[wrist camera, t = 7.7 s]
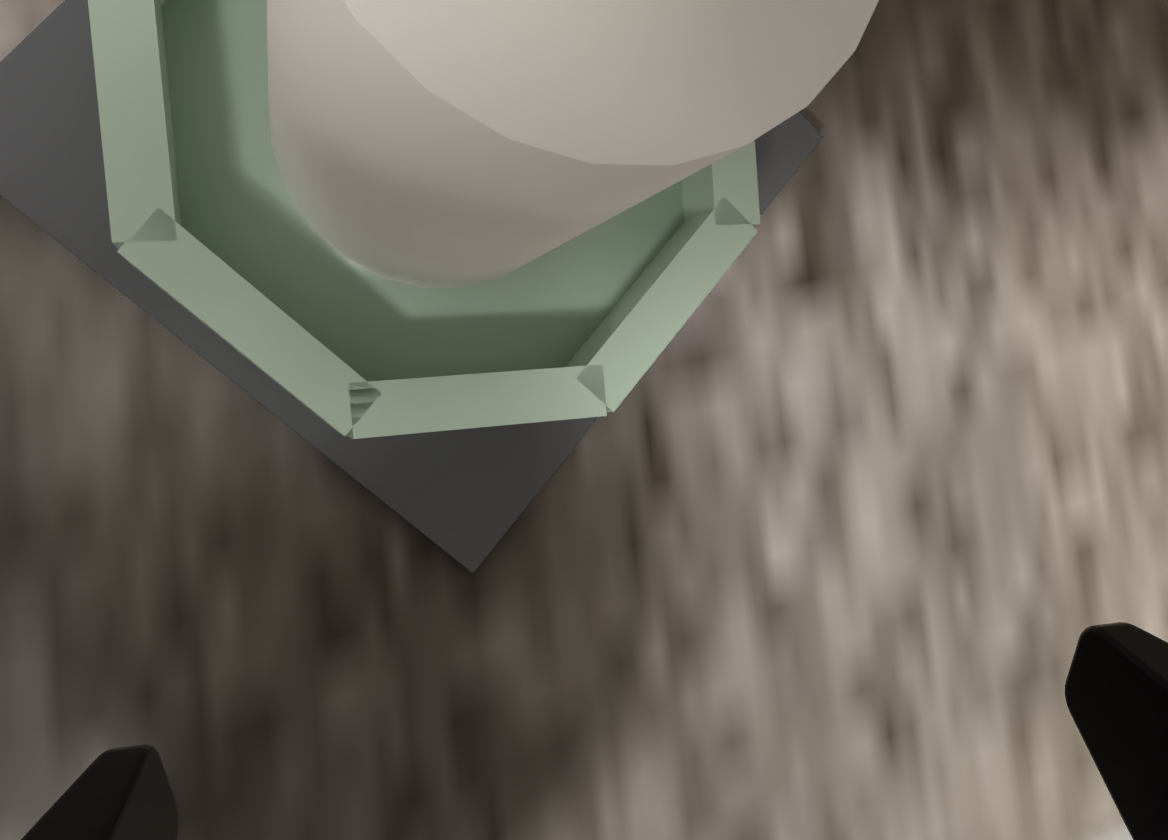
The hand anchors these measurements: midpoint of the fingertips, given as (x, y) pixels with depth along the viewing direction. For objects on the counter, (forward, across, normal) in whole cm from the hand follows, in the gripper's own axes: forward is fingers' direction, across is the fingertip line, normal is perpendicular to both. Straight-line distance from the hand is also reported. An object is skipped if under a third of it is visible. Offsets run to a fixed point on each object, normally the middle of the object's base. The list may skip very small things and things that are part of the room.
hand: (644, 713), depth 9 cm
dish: (+14, +2, -2) cm, 14 cm away
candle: (+13, +2, -3) cm, 14 cm away
